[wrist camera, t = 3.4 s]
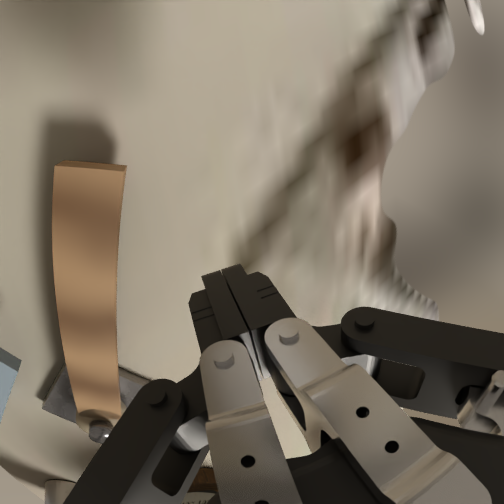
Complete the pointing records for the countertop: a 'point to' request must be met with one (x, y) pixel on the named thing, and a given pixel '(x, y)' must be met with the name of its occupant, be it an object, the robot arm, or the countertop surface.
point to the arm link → (88, 282)
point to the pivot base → (65, 406)
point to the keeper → (7, 376)
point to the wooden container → (201, 487)
